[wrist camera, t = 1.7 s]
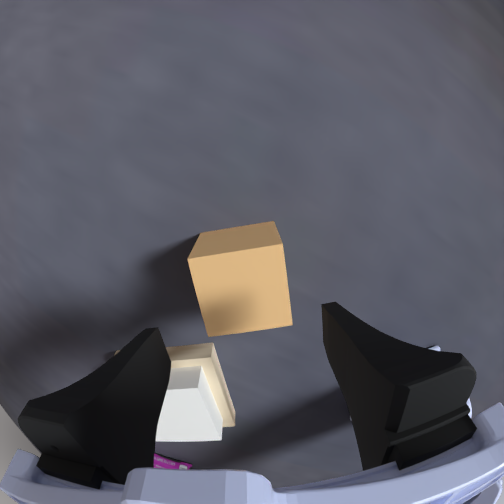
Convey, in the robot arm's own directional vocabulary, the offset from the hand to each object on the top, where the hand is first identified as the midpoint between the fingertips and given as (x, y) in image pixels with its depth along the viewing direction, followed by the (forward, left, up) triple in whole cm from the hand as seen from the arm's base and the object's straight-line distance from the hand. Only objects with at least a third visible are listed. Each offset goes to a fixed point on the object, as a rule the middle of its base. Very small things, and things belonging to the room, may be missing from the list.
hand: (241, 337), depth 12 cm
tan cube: (0, 0, -9) cm, 9 cm away
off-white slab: (+8, +11, -7) cm, 15 cm away
